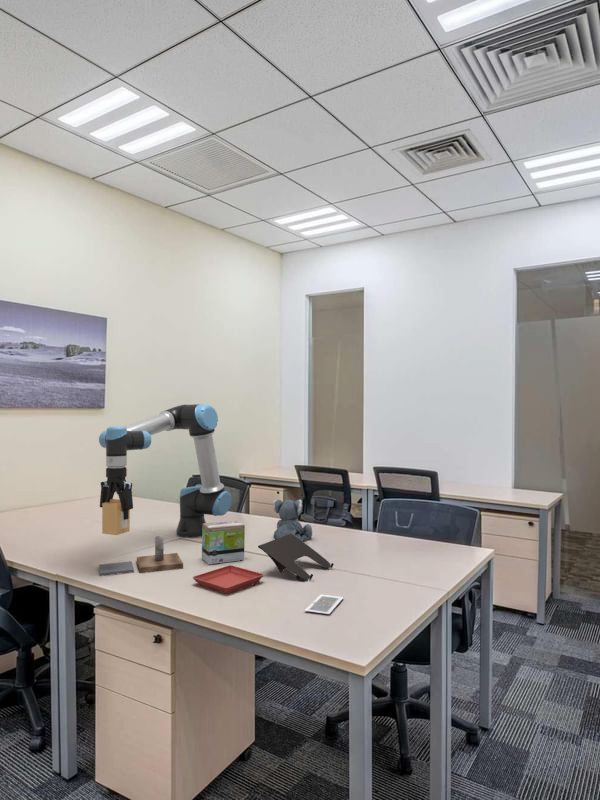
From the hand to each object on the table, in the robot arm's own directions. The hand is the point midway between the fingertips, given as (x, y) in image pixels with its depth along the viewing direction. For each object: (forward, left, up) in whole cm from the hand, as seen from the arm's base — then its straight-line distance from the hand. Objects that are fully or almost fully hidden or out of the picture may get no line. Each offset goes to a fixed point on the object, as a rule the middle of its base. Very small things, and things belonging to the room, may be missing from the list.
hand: (116, 527), depth 206 cm
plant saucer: (-36, +32, -17) cm, 51 cm away
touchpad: (-59, +64, -17) cm, 89 cm away
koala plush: (-77, -18, -17) cm, 81 cm away
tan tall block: (0, 0, -2) cm, 2 cm away
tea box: (-41, +2, -17) cm, 44 cm away
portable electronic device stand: (-64, +27, -17) cm, 72 cm away
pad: (0, 0, -16) cm, 16 cm away
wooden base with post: (-16, 0, -16) cm, 23 cm away
